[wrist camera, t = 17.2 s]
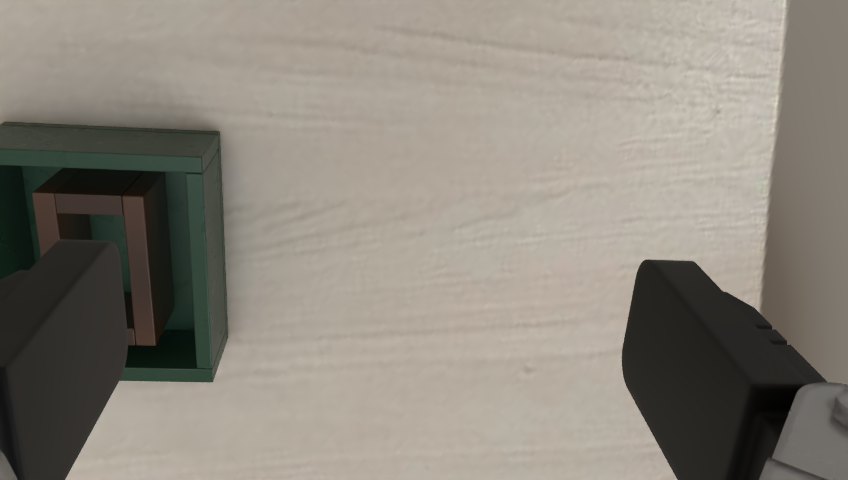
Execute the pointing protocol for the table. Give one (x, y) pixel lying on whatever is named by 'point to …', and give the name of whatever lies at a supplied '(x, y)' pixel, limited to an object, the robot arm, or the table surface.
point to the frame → (144, 227)
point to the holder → (187, 221)
